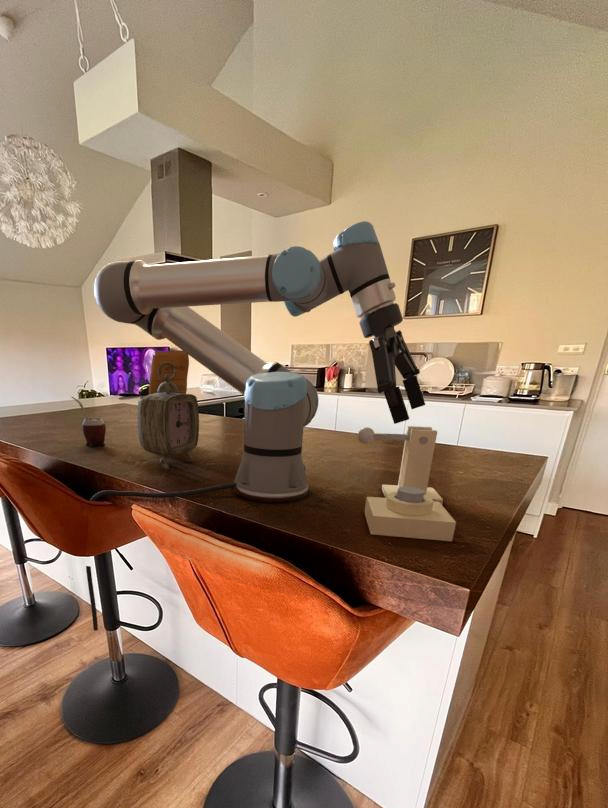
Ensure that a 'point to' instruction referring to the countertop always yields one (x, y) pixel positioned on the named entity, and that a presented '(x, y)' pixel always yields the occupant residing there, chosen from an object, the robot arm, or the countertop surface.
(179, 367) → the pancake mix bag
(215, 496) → the countertop surface
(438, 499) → the bracket
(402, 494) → the grey round button
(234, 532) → the countertop surface
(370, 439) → the flush lever
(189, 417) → the tabletop clock
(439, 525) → the cream rectangular base
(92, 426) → the mate gourd
